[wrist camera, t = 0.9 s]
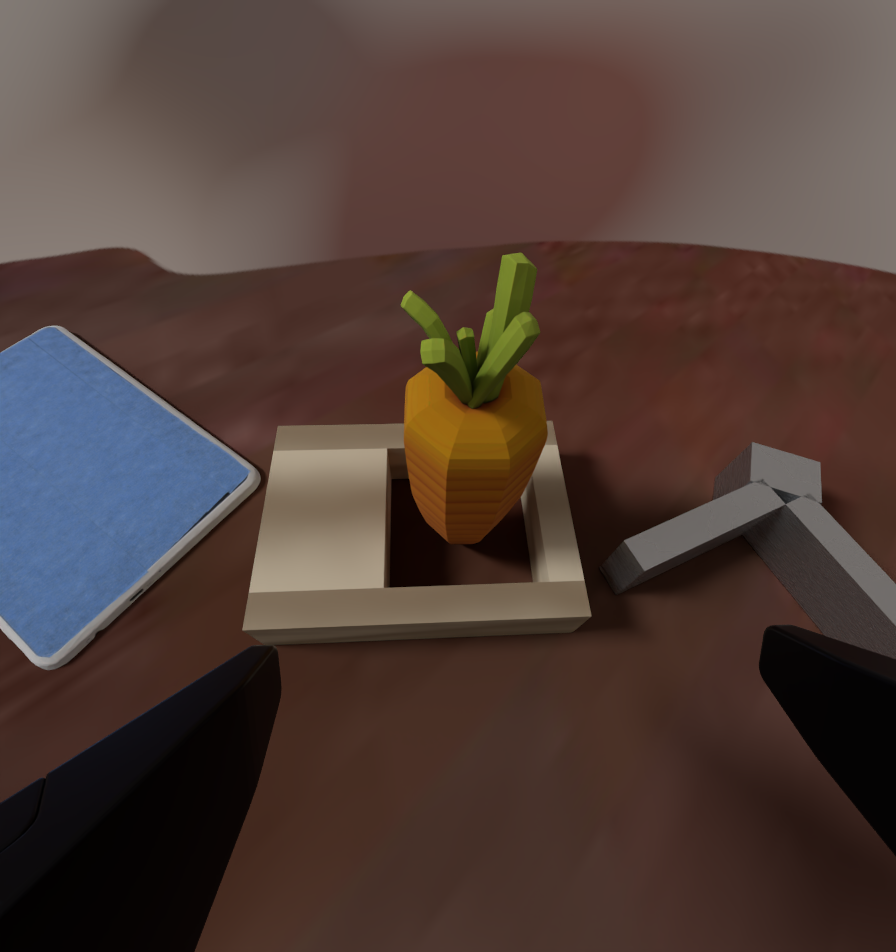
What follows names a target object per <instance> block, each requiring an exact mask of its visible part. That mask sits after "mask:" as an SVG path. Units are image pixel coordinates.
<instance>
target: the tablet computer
mask: <svg viewBox="0 0 896 952" xmlns="http://www.w3.org/2000/svg"><path fill="white" fill-rule="evenodd" d="M260 481H261V477H260V474H259V472H258V471H257V469H256V468H255V467H254V466H252V465H251V464H250V463H248V462H247V461H246V460H244V459H243V458H242V457H240V456H239V455H238V454H236V453H235V452H234V451H232V450H231V449H230V448H228V447H227V446H225V445H224V444H223V443H221V442H220V441H219V440H217V439H216V438H215V437H213V436H212V435H210V434H209V433H208V432H206V431H205V430H204V429H202V428H201V427H199V426H198V425H197V424H195V423H194V422H193V421H191V420H190V419H189V418H187V417H186V416H185V415H183V414H182V413H180V412H179V411H178V410H176V409H175V408H174V407H172V406H171V405H169V404H168V403H167V402H166V401H164V400H163V399H161V398H160V397H159V396H157V395H156V394H154V393H153V392H152V391H150V390H149V389H148V388H146V387H145V386H144V385H142V384H141V383H140V382H138V381H137V380H135V379H134V378H133V377H131V376H130V375H128V374H127V373H126V372H125V371H123V370H122V369H120V368H119V367H118V366H116V365H115V364H113V363H112V362H111V361H109V360H108V359H107V358H105V357H104V356H102V355H101V354H99V353H98V352H97V351H95V350H94V349H92V348H91V347H90V346H88V345H87V344H86V343H84V342H83V341H81V340H80V339H79V338H77V337H76V336H74V335H73V334H72V333H70V332H69V331H67V330H66V329H65V328H63V327H61V326H48V327H44V328H42V329H40V330H38V331H37V332H35V333H33V334H32V335H30V336H28V337H26V338H25V339H23V340H21V341H19V342H18V343H16V344H14V345H13V346H11V347H9V348H8V349H6V350H4V351H2V352H1V353H0V628H1V630H2V631H3V632H4V633H5V634H6V635H7V636H8V638H9V639H11V640H12V641H13V642H14V643H15V644H16V645H17V646H18V647H19V648H20V649H21V650H22V651H23V652H24V654H25V655H26V656H27V657H28V658H29V659H30V661H31V662H33V663H34V664H35V665H37V666H39V667H41V668H43V669H47V670H52V669H56V668H59V667H61V666H62V665H64V664H66V663H67V662H69V661H70V660H71V659H72V658H73V657H75V656H76V655H77V654H78V653H79V652H80V651H81V650H82V649H83V648H84V647H85V646H86V645H87V644H88V643H90V642H91V641H92V640H93V639H94V637H95V636H96V634H97V633H98V632H99V631H100V630H103V629H104V628H106V627H107V626H108V625H109V624H110V623H111V622H112V621H113V620H114V619H116V618H117V617H118V616H119V615H120V614H121V613H122V612H123V611H124V610H125V609H126V608H127V607H129V606H130V605H131V604H132V603H133V602H134V601H135V600H136V599H137V598H138V597H139V596H140V595H141V594H142V593H143V592H145V591H146V590H147V589H148V588H149V587H150V586H151V585H152V584H153V583H154V582H155V581H157V580H158V579H159V578H160V577H161V576H162V575H163V574H164V573H165V572H166V571H167V570H168V569H170V568H171V567H172V566H173V565H174V564H175V563H176V562H177V561H178V560H179V559H180V558H181V557H183V556H184V555H185V554H186V553H187V552H188V551H189V550H190V549H191V548H192V547H193V546H194V545H196V544H197V543H198V542H199V541H200V540H201V539H202V538H203V537H204V536H205V535H206V534H207V533H209V532H210V531H211V530H212V529H213V528H214V527H215V526H216V525H217V524H218V523H219V522H221V521H222V520H223V519H224V518H225V517H226V516H227V515H228V514H229V513H230V512H232V511H233V510H234V509H235V508H236V507H237V506H238V505H239V504H240V503H241V502H242V501H244V500H245V499H246V498H247V497H248V496H249V495H250V494H251V493H253V492H254V491H255V489H256V488H257V487H258V485H259V483H260Z"/></svg>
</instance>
